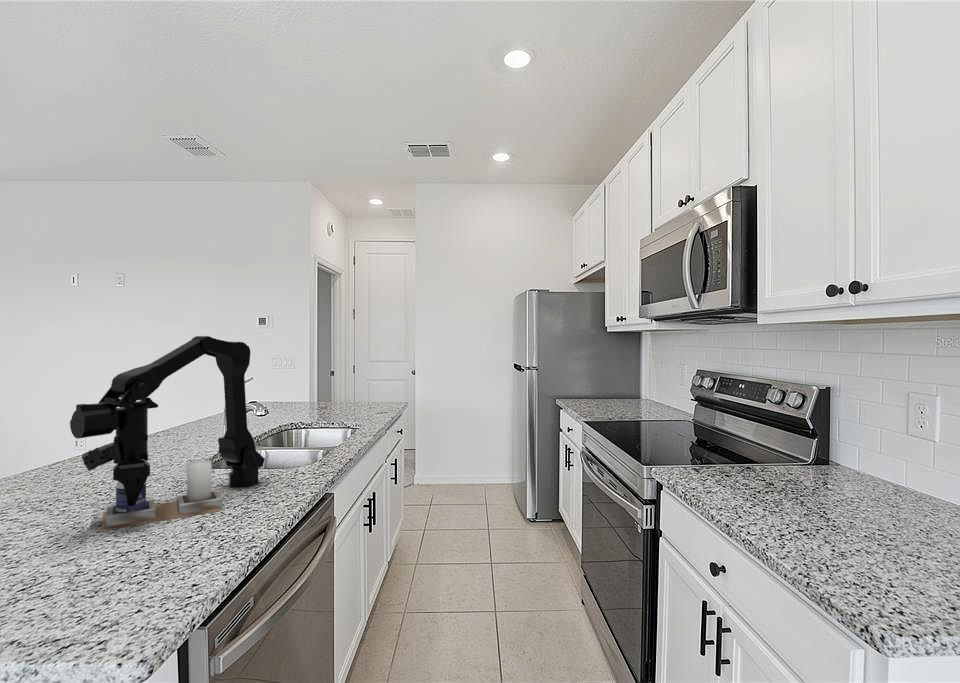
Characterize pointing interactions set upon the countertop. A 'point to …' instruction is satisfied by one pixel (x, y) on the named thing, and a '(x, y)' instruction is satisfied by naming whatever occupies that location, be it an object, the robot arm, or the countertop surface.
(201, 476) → the pin
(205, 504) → the board
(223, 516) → the countertop surface
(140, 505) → the pill bottle
